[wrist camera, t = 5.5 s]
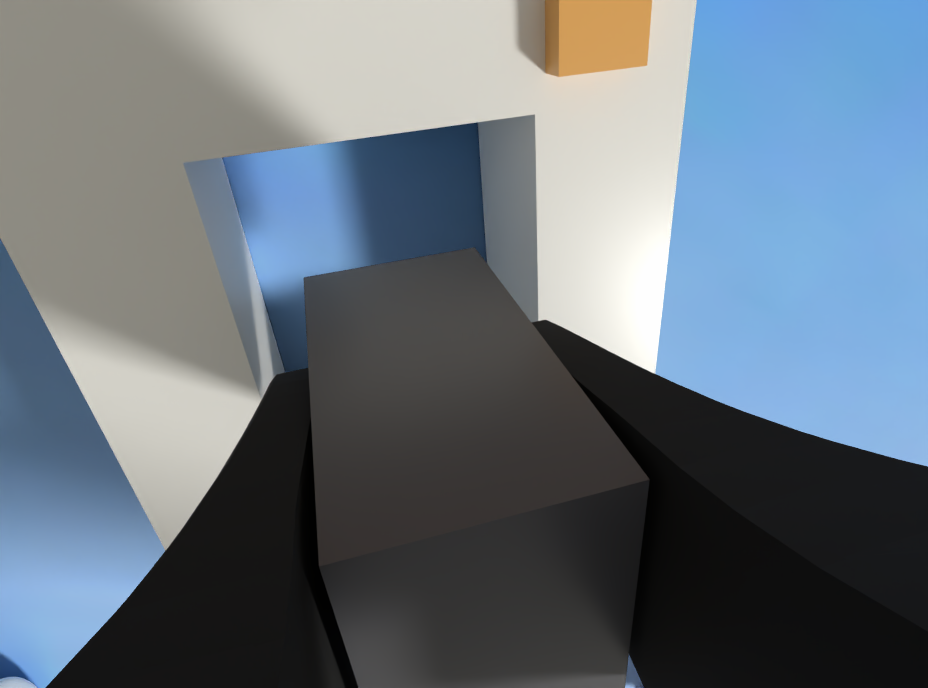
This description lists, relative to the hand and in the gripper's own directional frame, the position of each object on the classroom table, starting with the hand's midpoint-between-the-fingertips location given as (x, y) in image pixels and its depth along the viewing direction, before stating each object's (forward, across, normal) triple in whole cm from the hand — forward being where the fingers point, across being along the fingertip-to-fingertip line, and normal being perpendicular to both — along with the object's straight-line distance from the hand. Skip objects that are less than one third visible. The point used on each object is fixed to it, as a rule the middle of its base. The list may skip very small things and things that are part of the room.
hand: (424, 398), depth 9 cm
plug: (+2, 0, 0) cm, 2 cm away
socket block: (+7, 0, 0) cm, 7 cm away
